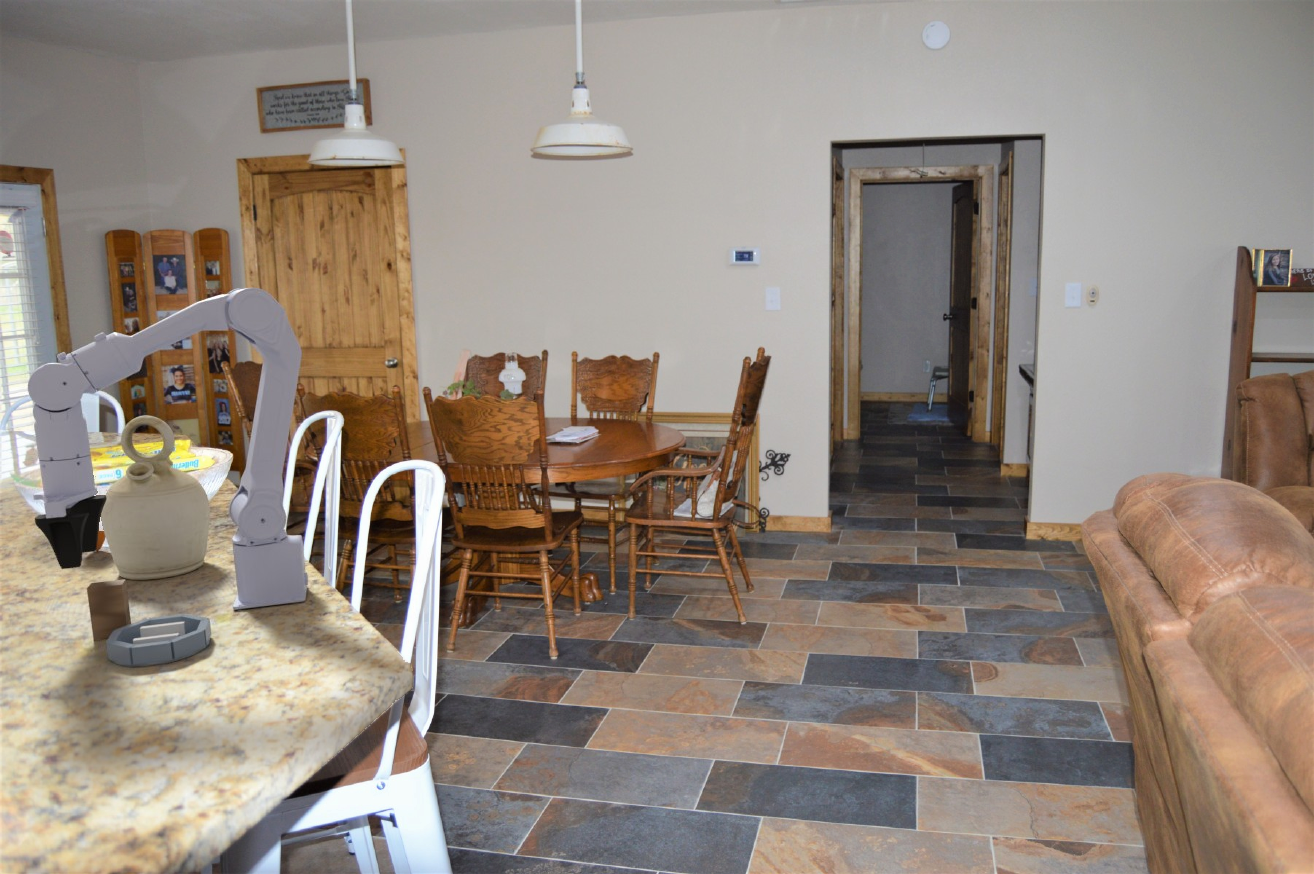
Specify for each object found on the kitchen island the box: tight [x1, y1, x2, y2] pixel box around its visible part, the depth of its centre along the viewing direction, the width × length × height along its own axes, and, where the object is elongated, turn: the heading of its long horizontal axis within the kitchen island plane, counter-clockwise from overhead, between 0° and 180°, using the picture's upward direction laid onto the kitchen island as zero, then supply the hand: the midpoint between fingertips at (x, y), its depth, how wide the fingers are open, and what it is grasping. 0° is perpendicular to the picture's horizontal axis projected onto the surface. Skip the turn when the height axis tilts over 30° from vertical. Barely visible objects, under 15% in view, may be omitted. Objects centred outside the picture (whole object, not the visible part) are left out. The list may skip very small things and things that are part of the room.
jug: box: [101, 415, 211, 581], centre depth 154 cm, size 15×16×25 cm
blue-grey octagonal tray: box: [105, 613, 212, 668], centre depth 121 cm, size 11×11×2 cm
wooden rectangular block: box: [86, 578, 132, 642], centre depth 126 cm, size 4×2×7 cm, turn 108°
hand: (79, 559), depth 126 cm, fingers open, 7 cm apart
